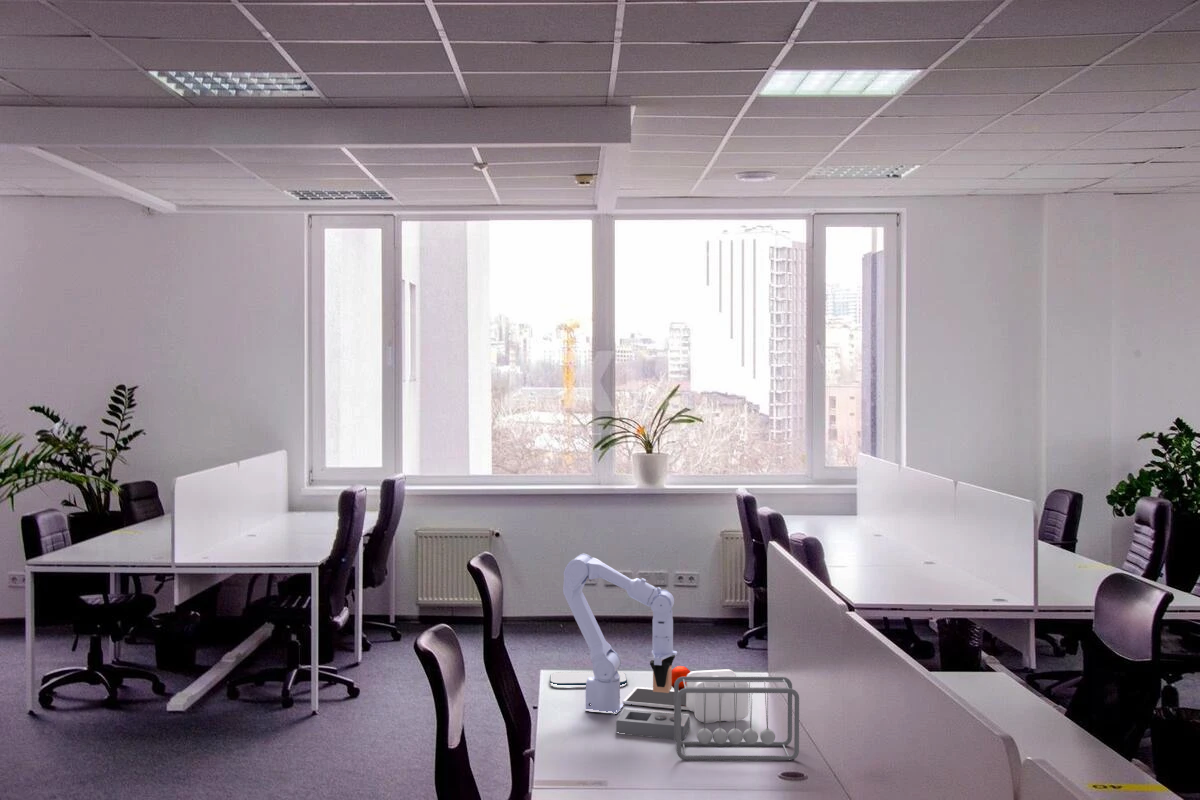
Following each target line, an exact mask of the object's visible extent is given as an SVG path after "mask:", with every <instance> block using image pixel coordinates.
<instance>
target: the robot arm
mask: <svg viewBox="0 0 1200 800" xmlns="http://www.w3.org/2000/svg"><path fill="white" fill-rule="evenodd" d="M593 579H594V580H595V579H602V580H604V581H607V582H608V583H611V584H612V585H615V586H617V587H619V588H621V589H623V590H625V591H626V593H627V596H628V597H629V598H630V599H633V600H634V601H637V602H638V603H640V604H642V605H644V606H646V607H648V608H650V610H651V611H652V639H651V640H652V650H651V656H652V657H653V660H652V659H651V660H650V661H649V665H650V668H651V669H652V673H653V672H654V675H655V680H656V684H657V687H665V684H666V678H667V672H668V669H669V666H670V665H672V666H673V663H674V660H675V658H676V656H677V654H678V651H677V650H674V618H673V617H674V616H673V615H674V614H673V607H674V605H675V598H674V596H673V594H672V593H671V592H670V591H669V590H668V589H662V588H661V587H660V586H658V587H656V586H654V585H652V584H650V583H649V582H647V579H646V578H643V577H641V578H639V577H636V578H633V579H632V578H630V577H628V576H627V575H624V574H623V573H621V572H619V571H618V570H616V569H615V568H613V567H612V566H609V565H608V564H606V563H604V562H603V561H602V560H600V559H598V558H596V557H592V556H591V555H589V554H587V553H581V554H578V555H576V557H575V558H572V559H571V560H570V561H569V562H568V563H567V565H566V566H565V568H564V571H563V586H562V587H563V588H562V593H563V596H564V598H565V600H566V602H567V605H568V607H569V608H570V610H571V613H572V615H573V618H574V619H575V622H576V623H577V625H578V628H579V630H580V632H581V634H582V636H583V638H584V639H583V640H584V641H585V643H586V645H587V647H588V649H589V655H590V656H589V657H590V661H591V664H592V672H593V673H594V675H595V676H594V677H588V679H587V682H586V688H585V709H593V710H599V711H606V712H608V711H612V712H613V713H614V712H615V713H618V712H619V711H620V712H621V710H622V709H623V708H624V706H625V704H623V703H621V687H620V676H619V674H618V672H619V671H618V670H619V669H620V668H621V664H622V659H621V655H619V653H618V652H616V651H615V650H614V649H613V647H612V645H611V644H610V643H609V642H608V641H607V640H606V638H605V636H604V634H603V631H602V630H601V627H600V625H599V624H598V621H597V620H596V617H595V615H594V613H593V611H592V609H591V607H590V604H589V603H588V600H587V598H586V596H585V594H584V592H583V589H584V587H585V585H586V582H587V580H593ZM590 704H591V705H590ZM620 704H621V705H620ZM623 705H624V706H623ZM622 707H623V708H622ZM621 708H622V709H621ZM620 709H621V710H620ZM616 710H617V712H616ZM620 712H619V713H620ZM619 713H618V714H619Z"/></svg>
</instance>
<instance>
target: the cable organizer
mask: <svg viewBox="0 0 1200 800" xmlns="http://www.w3.org/2000/svg"><path fill="white" fill-rule="evenodd" d="M687 677H737V674H736V673H735V671H733V670H732V669H729V668H727V669H726V668H725V669H708V670H693V671H691V672H690V673H688V675H687ZM704 683H705V685H704ZM719 683H720V684H719ZM735 684H736V685H735V687H749V682H735ZM720 685H721V687H734V682H686V687H720ZM704 703H705V693H686V706H687V708H688V709H689V710H688V711H691V712H693V713H694V717H695V718H696V720H697V721H699V722H701V723H703V724H704ZM720 703H721V722H725V721H726V722H728V723H730V722H735V719H736V722H738V721H741V720H745V719H746V718H747V717H748V716H749V714H750V697H749V693H737V707H736V693H735V710H734V693H720ZM716 722H719V693H706V712H705V724H710V723H711V724H713V723H716Z"/></svg>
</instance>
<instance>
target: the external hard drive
mask: <svg viewBox="0 0 1200 800" xmlns="http://www.w3.org/2000/svg"><path fill="white" fill-rule="evenodd" d="M618 674H619V676H620V685H622V684H625V683H627V684H628V679H627V674H626V673H624V672H622V671H618ZM594 676H595V675H594V673H593V671H565V672H564V671H563V672H561V671H560V672H553V673H551V674H550V676H549V684H550V683H553V684H557V685H586V682H587V679H588V677H594Z"/></svg>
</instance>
